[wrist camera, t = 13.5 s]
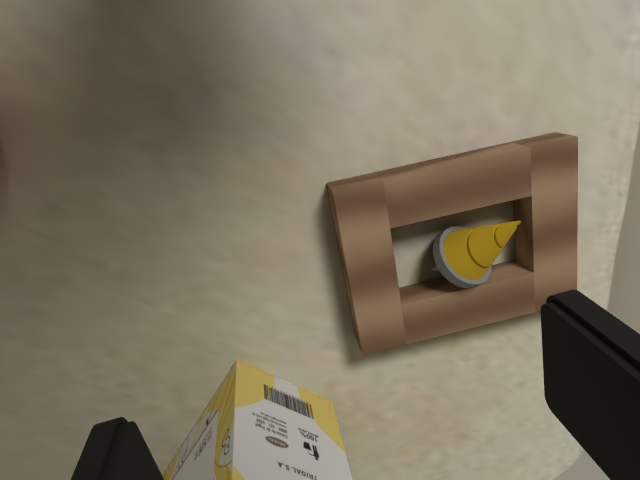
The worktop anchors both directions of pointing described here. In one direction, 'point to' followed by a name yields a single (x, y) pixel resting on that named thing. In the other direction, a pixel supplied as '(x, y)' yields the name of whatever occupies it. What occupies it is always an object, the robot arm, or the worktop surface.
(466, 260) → the yellow stepped cone
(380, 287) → the walnut socket block
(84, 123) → the worktop surface
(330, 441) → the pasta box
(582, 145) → the worktop surface
